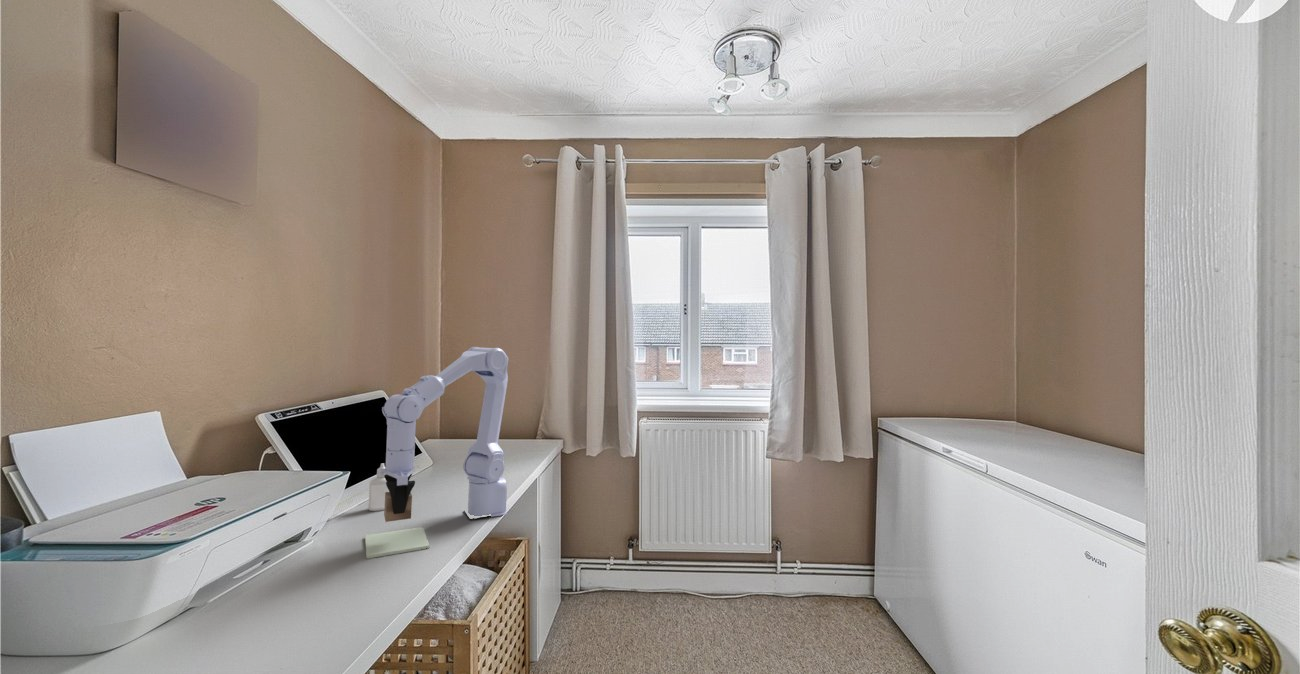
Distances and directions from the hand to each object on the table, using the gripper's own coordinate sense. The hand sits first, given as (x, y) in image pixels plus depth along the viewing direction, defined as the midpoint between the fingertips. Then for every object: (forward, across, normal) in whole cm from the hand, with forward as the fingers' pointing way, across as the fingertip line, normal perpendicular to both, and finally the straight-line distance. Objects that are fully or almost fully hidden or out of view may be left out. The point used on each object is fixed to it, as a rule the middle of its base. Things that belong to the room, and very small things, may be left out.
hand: (398, 509), depth 111 cm
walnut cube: (+2, 0, 0) cm, 2 cm away
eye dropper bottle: (+8, -26, -2) cm, 27 cm away
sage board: (+8, 0, 0) cm, 8 cm away
